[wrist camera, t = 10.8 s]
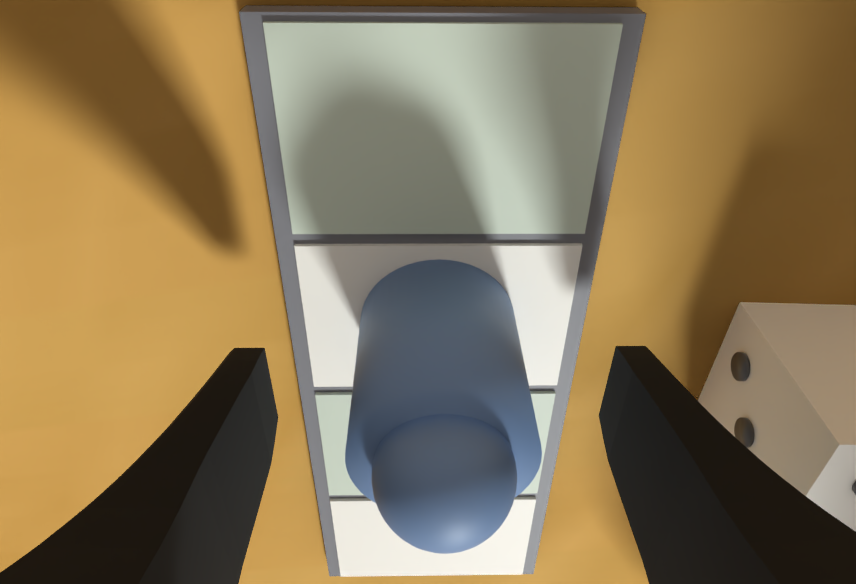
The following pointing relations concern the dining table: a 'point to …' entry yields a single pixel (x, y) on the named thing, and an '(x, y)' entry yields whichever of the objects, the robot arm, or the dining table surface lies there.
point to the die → (793, 396)
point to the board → (436, 208)
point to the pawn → (441, 406)
